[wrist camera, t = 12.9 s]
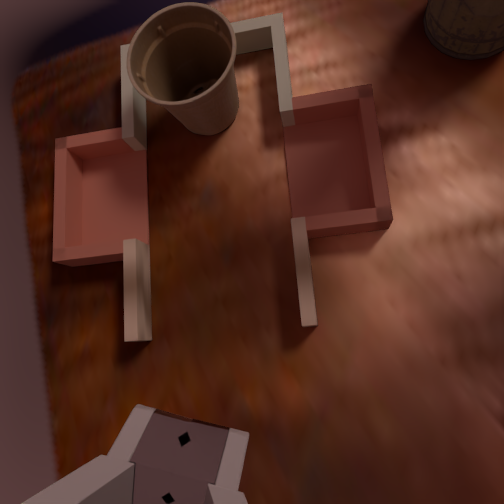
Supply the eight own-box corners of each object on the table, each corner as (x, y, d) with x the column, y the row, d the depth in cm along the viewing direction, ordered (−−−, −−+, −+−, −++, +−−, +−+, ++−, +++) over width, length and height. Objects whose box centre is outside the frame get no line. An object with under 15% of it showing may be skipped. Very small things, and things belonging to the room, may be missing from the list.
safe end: (295, 126, 40) (293, 109, 37) (136, 151, 43) (121, 138, 40) (285, 34, 42) (282, 12, 40) (134, 64, 45) (120, 45, 42)
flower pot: (147, 124, 43) (104, 74, 35) (199, 52, 44) (168, -15, 36) (219, 168, 41) (191, 124, 32) (272, 90, 41) (258, 28, 33)
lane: (317, 325, 36) (316, 324, 33) (139, 341, 39) (124, 341, 36) (306, 225, 38) (304, 216, 35) (137, 246, 41) (123, 239, 38)
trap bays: (388, 229, 37) (392, 219, 34) (71, 266, 41) (52, 261, 39) (368, 102, 39) (371, 83, 36) (73, 151, 44) (55, 138, 41)
